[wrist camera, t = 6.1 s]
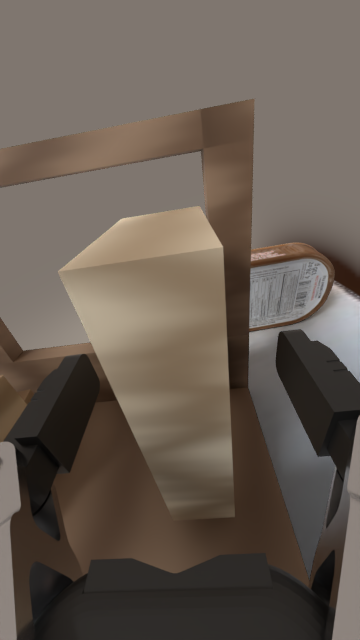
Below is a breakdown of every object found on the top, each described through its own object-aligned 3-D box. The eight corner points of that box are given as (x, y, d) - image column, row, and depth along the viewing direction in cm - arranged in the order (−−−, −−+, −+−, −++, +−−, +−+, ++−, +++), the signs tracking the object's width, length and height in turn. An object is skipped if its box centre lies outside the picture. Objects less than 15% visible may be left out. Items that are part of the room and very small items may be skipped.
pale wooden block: (173, 520, 11) (57, 271, 4) (175, 418, 16) (121, 218, 9) (235, 517, 11) (223, 247, 4) (218, 414, 16) (199, 205, 9)
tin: (312, 307, 27) (327, 233, 22) (330, 322, 24) (351, 240, 19) (185, 330, 27) (174, 260, 22) (189, 347, 24) (176, 271, 19)
